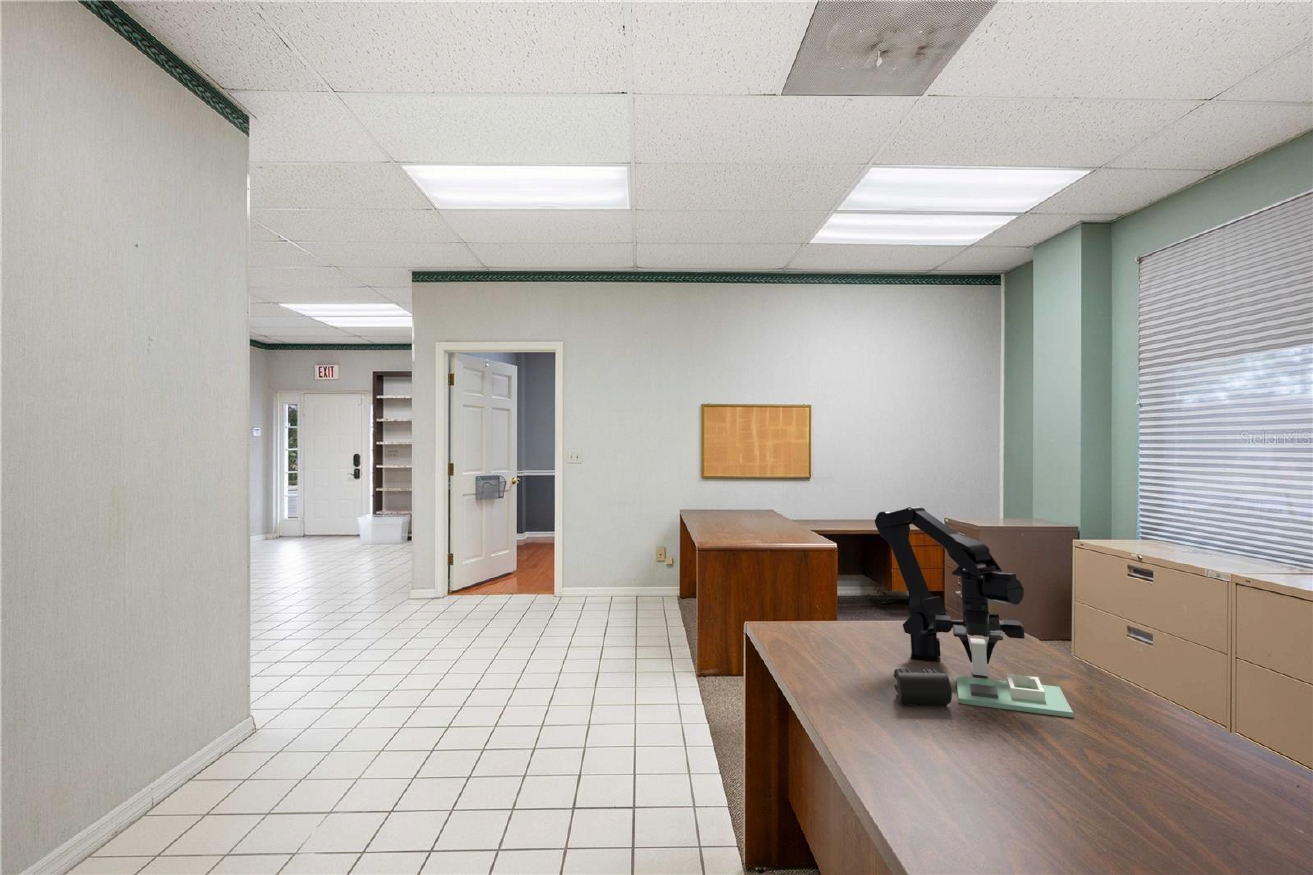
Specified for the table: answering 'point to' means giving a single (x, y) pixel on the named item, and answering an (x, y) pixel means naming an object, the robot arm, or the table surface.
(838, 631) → the table surface
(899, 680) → the end cap
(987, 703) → the board
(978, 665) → the plug
